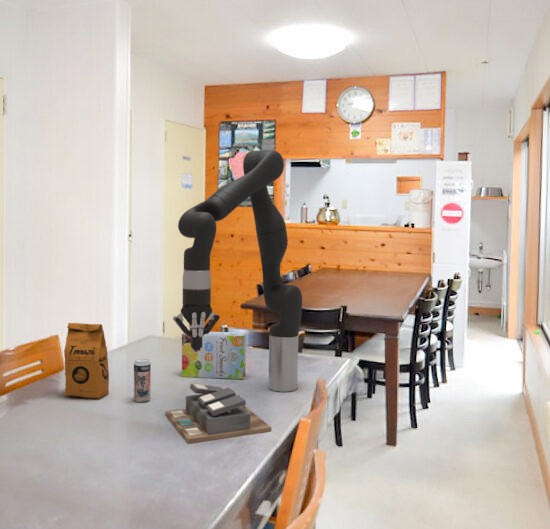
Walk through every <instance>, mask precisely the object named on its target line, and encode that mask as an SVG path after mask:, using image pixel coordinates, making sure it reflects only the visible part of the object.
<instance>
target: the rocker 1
mask: <svg viewBox="0 0 550 529" xmlns="http://www.w3.org/2000/svg"><path fill="white" fill-rule="evenodd" d="M189 389H190V390H191V391H192V392H193V393H195V394H197V395H198V394H205V395H208V394H211V393H214V392H217V391H220V390H223V389H224V388H222V386H213V385H205V384H197V383H190V385H189Z"/></svg>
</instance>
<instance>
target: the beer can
mask: <svg viewBox="0 0 550 529" xmlns="http://www.w3.org/2000/svg"><path fill="white" fill-rule="evenodd" d="M151 364H152V363H151V361H150V360H149V359H148V358H137V359H136V360H135V361H134V363H133V401H135V402H137V403H146V402H145V401H147V402H148V401H149V400H151V399H152V398H151V397H152V396H151V395H152V394H151V391H152V390H151V386H152V385H151V383H152V380H151V378H152V376H151V375H152V374H151V366H152V365H151Z"/></svg>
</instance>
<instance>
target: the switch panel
mask: <svg viewBox="0 0 550 529" xmlns="http://www.w3.org/2000/svg"><path fill="white" fill-rule="evenodd" d="M202 396H205V394H198V393H197V394H193V395H191V394H190V395H185V408H182V409H174V410H167V411H165V412H164V413H165V414H164V415H165V416H167V417H166V418H167V419H168V420H169V422H170V423H171V424H172V425H173V426H174V427H175V430H177V431H178V433H179V434H180V436H182V437H183V439H184V440H185V442H186V443H187V444H188V445H189V444H194V443H202V442H207V441H213V440H214V441H215V440H221V439H228V438H234V437H242V436H248V435H254V434H262V433H267V432H272V426H271V425H269V424H268V423H267V422H265V421H264V419H261V418H260V416H258V415H257V414H255V413H254V411H252V410H251V409H249V408H248V407H247V406H246V405H244V406H241V407H238V408H236V409H233V410H231V413H227V412H224V413H221V414H218V415H216V416H212V415H211V414H210V413H209V412H208V411H207V409H206V407H205V408H204V407H203V406H202V405H201V404H200V403H199V402H198V398H199V397H202Z"/></svg>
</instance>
